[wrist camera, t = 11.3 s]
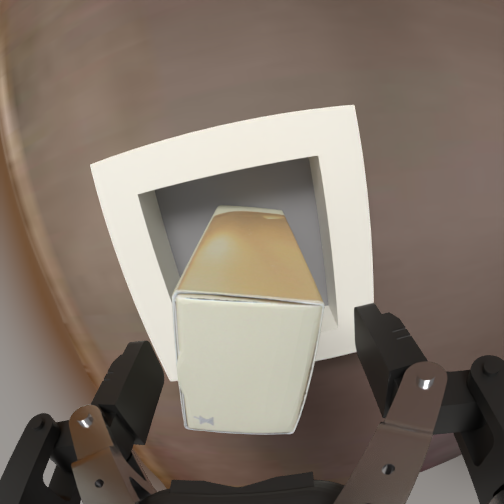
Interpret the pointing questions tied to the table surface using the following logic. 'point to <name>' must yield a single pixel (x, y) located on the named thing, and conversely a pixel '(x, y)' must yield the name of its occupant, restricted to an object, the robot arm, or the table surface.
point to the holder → (248, 195)
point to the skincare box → (246, 325)
